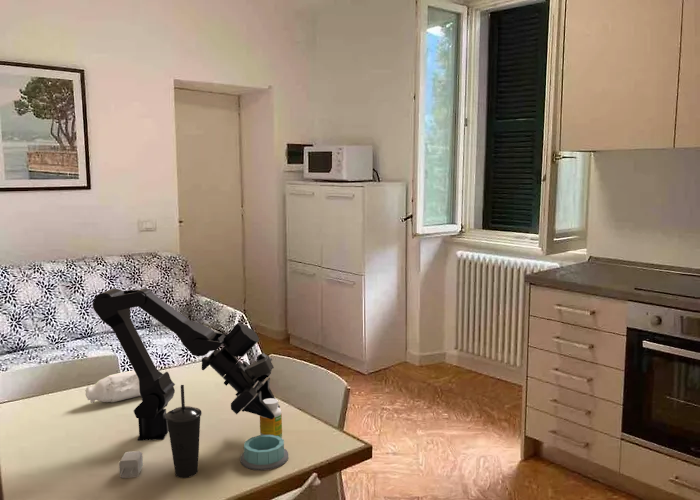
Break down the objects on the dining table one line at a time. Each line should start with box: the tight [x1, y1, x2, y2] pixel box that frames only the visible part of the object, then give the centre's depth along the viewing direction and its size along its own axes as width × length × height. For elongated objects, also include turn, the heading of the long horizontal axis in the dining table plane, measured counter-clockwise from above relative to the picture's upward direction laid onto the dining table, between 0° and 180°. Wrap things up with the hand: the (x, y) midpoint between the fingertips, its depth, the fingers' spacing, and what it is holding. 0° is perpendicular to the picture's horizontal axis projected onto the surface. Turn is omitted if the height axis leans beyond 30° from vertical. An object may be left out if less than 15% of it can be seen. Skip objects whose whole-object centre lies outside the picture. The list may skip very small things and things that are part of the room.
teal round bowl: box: [239, 435, 289, 471], centre depth 140 cm, size 11×11×4 cm
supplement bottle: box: [259, 398, 283, 439], centre depth 150 cm, size 5×5×10 cm
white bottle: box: [84, 369, 141, 404], centre depth 179 cm, size 8×19×8 cm, turn 129°
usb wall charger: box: [118, 450, 144, 479], centre depth 133 cm, size 4×7×4 cm, turn 7°
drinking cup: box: [165, 384, 203, 479], centre depth 133 cm, size 8×8×20 cm
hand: (276, 413), depth 150 cm, fingers open, 6 cm apart
